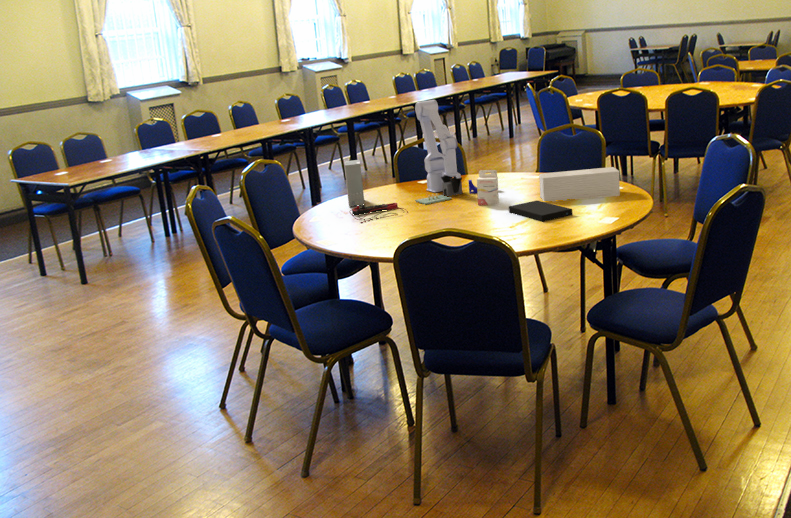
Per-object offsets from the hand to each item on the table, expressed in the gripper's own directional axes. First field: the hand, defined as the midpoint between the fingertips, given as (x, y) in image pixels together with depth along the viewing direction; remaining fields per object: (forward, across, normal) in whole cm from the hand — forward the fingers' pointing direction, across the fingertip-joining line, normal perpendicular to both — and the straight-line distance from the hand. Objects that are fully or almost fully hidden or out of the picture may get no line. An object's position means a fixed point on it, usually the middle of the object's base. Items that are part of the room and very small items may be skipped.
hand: (452, 191), depth 343 cm
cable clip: (+2, +6, +12) cm, 14 cm away
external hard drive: (+2, +63, +4) cm, 64 cm away
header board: (+1, +4, -13) cm, 14 cm away
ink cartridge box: (+2, +32, 0) cm, 32 cm away
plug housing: (+2, 0, 0) cm, 2 cm away
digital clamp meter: (+2, +10, -44) cm, 45 cm away
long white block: (+2, +50, +34) cm, 61 cm away
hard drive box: (+2, -22, -41) cm, 46 cm away
